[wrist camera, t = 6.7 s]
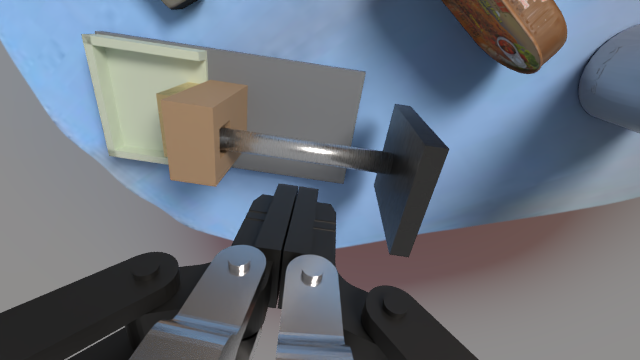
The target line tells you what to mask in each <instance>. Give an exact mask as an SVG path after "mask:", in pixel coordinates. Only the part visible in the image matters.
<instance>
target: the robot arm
mask: <svg viewBox="0 0 640 360" xmlns="http://www.w3.org/2000/svg"><path fill="white" fill-rule="evenodd" d="M579 99H580V103H581V105H582V107H583V108H584V110H585V111H586V112H587V113H589V114H590V115H591V116H594V117H596V118H599V119H601V120H604V121H607V122H610V123H613V124H616V125H618V126H621V127H624V128H626V129H629V130H632V131H635V132H638V133H640V24H639V25H635V26H633V27H630V28H628V29H626V30H624V31H622V32H620V33H619V34H617V35H616V36H614V37H612V38H611V39H610V40H609V41H607V42H606V43H605V44H604V45H603V46H602V47H600V49H599V50H598V51H597V52H596V53H595V54H594V55H593V57H592V58H591V59H590V61H589V62H588V64H587V66H586V67H585V69H584V71H583V74H582V76H581V79H580V84H579ZM317 197H318V189H314V188H307V187H299V191H298V186H293V185H286V184H278V187H277V189H276V192H275V194H274V196H270V195H264V194H263V195H261V196H260V197H258V198H257V199H256V200H254V201H253V203H252V205H251V207H250V209H249V212H248V213H247V215H246V217H245V219H244V221H243V223H242V225H241V227H240V229H239V231H238V233H237V235H236V237H235V239H234V241H233V243H232V246H231V247H228V248H226V249H223V250H222V251H220V252H219V253H218V254H217V255H216V256H215V258H214V259H213V261H212V262H210V263H206V264H202V265H194V266H184V267H178V262H177V260H176V259H175V258H174V257H173V256H171V255H170V254H167V253H163V252H150V253H145V254H141V255H138V256H135V257H133V258H130V259H128V260H126V261H123V262H121V263H119V264H116V265H114V266H111V267H109V268H107V269H104V270H102V271H100V272H97V273H95V274H92V275H90V276H88V277H85V278H83V279H80V280H78V281H76V282H74V283H71V284H69V285H66V286H64V287H61V288H59V289H57V290H55V291H52V292H50V293H47V294H45V295H43V296H40V297H38V298H35V299H33V300H31V301H28V302H26V303H24V304H21V305H19V306H16V307H14V308H11V309H9V310H7V311H4V312H2V313H0V360H64V359H66V358H68V357H69V356H71V355H73V354H75V353H77V352H78V351H80V350H82V349H84V348H86V347H87V346H89V345H91V344H93V343H95V342H96V341H98V340H100V339H102V338H103V337H105V336H107V335H109V334H110V333H112V332H114V331H116V330H118V329H120V328H121V327H123V326H125V328H123V329H121V330H120V331H118V332H116V333H114V334H112V335H111V336H109V337H107V338H105V339H103V340H102V341H100V342H98V343H96V344H94V345H93V346H91V347H89V348H87V349H86V350H84V351H82V352H80V353H78V354H77V355H75V356H73V357H71V358H70V359H68V360H252V358H253V356H254V352H255V350H256V347H257V344H258V341H259V337H260V335H261V331H262V325H263V323H264V320H265V316H266V312H267V309H268V307H271V308H276V305H277V300H278V296H279V302H278V308H279V309H282V311H281V320H280V329H279V338H278V345H277V353H276V360H478V359H477V358H476V357H475V356H474V355H473V354H472V353H471V352H470V351H469V350H468V349H467V348H466V347H465V346H464V345H462V344H461V343H460V342H459V341H458V340H457V339H456V338H455V337H454V336H453V335H452V334H451V333H450V332H449V331H448V330H447V329H445V328H444V327H443V326H442V325H441V324H440V323H439V322H438V321H437V320H436V319H435V318H434V317H433V316H432V315H431V314H430V313H428V312H427V311H426V310H425V309H424V308H423V307H422V306H421V305H420V304H419V303H418V302H417V301H416V300H414V298H413V297H411V296H410V295H409V294H408V293H406V292H405V291H403V290H401V289H399V288H396V287H393V286H379V287H375V288H373V289H372V290H371V291H370V292H369V293H368V292H366V291H364V290H361V289H359V288H357V287H355V286H352V285H351V284H349V283H348V282H346V281H345V280H344V279H343V278H342V277H341V276H340V275H339V273H338V271H337V269H336V266H335V243H336V212H335V211H334V209H333V207H332V206H331V204H326V203H319V202H317ZM279 291H280V292H279Z"/></svg>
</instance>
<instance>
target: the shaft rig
mask: <svg viewBox="0 0 640 360" xmlns="http://www.w3.org/2000/svg"><path fill="white" fill-rule="evenodd" d="M81 35H82V39H83V43H84V48H85V52H86V56H87V61H88V65H89V70H90V74H91V78H92V83H93V87H94V91H95V96H96V100H97V105H98V109H99V113H100V118H101V122H102V126H103V131H104V135H105V140H106V144H107V148H108V153H109V156H113V157H120V158H127V159H133V160H140V161H147V162H154V163H161V164H167V165H169V172H170V180H174V181H181V182H188V183H195V184H202V185H208V186H215V187H216V186H217V184H218V183H219V182H220V181H221V179H222V178H223V177H224V175H225V174H226V173H227V172H228V170H229V169H230V168H231V167H233V168H240V169H247V170H253V171H260V172H267V173H274V174H280V175H287V176H294V177H301V178H307V179H314V180H321V181H328V182H334V183H341V184H343V183H344V178H345V173H346V168H341V167H334V166H328V165H321V164H314V163H307V162H301V161H294V160H287V159H280V158H274V157H267V156H260V155H254V154H247V153H240V152H233V151H227V150H220V137H219V129H220V128H221V127H224V128H230V129H237V130H244V131H250V132H257V133H264V134H270V135H277V136H284V137H290V138H297V139H304V140H310V141H317V142H324V143H330V144H337V145H344V146H350V147H351V143H352V138H353V133H354V128H355V123H356V118H357V113H358V108H359V103H360V98H361V93H362V88H363V83H364V78H365V72H364V71H358V70H351V69H345V68H338V67H332V66H325V65H319V64H312V63H306V62H299V61H293V60H286V59H280V58H273V57H267V56H260V55H254V54H247V53H241V52H234V51H228V50H221V49H214V48H208V47H201V46H195V45H188V44H182V43H175V42H169V41H162V40H156V39H149V38H143V37H136V36H130V35H123V34H117V33H110V32H104V31H95V34H81ZM187 82H191V83H198V85H196V86H193V87H191V88H188V89H186V90H184V91H181V92H179V93H176V94H174V95H171V96H169V97H166V98H164V99H161V107H162V116H163V124H164V132H165V140H166V148H167V156H168V157H164V151H163V143H162V135H161V128H160V120H159V113H158V105H157V98H156V93H159V92H162V91H165V90H167V89H170V88H173V87H176V86H178V85H181V84H184V83H187Z"/></svg>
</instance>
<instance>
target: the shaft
mask: <svg viewBox="0 0 640 360" xmlns="http://www.w3.org/2000/svg"><path fill="white" fill-rule="evenodd" d="M219 137H220V150H227V151H233V152H240V153H247V154H254V155H260V156H267V157H274V158H280V159H287V160H294V161H301V162H307V163H314V164H321V165H328V166H334V167H341V168H348V169H354V170H361V171H368V172H375V173H377V175H376V179H375V183H374V188H375V192H376V197H377V201H378V206H379V210H380V214H381V219H382V223H383V228H384V232H385V237H386V241H387V245H388V250H389V254H390V255H397V256H404V257H409V255H410V252H411V250H412V246H413V244H414V242H415V239H416V236H417V234H418V231H419V228H420V226H421V223H422V220H423V218H424V215H425V212H426V210H427V207H428V204H429V202H430V199H431V196H432V194H433V191H434V188H435V186H436V183H437V180H438V178H439V175H440V172H441V170H442V167H443V164H444V162H445V159H446V156H447V154H448V151H449V148H448V147H447V146H446V145H445V144H444V143H443V142H442V140H441V139H440V138H439V137H438V136H437V135H436V134H435V133H434V132H433V131H432V129H431V128H430V127H429V126H428V125H427V124H426V123H425V122H424V121H423V120H422V118H421V117H420V116H419V115H418V114H417V113H416V112H415V111H414V110H413V109H412V107H411V106H405V105H399V104H395V106H394V110H393V113H392V117H391V121H390V125H389V129H388V133H387V137H386V140H385V144H384V148H383V151H377V150H370V149H364V148H357V147H350V146H344V145H337V144H330V143H324V142H317V141H310V140H304V139H297V138H290V137H284V136H277V135H270V134H264V133H257V132H250V131H244V130H237V129H230V128H224V127H221V128H220V129H219Z"/></svg>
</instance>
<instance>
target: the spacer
mask: <svg viewBox="0 0 640 360" xmlns="http://www.w3.org/2000/svg"><path fill="white" fill-rule="evenodd" d="M196 85H198V83H191V82H187V83H184V84H181V85H178V86H176V87H173V88H170V89H167V90H165V91H162V92H159V93H156V98H157V105H158V113H159V120H160V128H161V135H162V143H163V151H164V157H168V156H167V148H166V140H165V132H164V124H163V116H162V107H161V99H164V98H166V97H169V96H171V95H174V94H176V93H179V92H181V91H184V90H186V89H188V88H191V87H193V86H196Z"/></svg>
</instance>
